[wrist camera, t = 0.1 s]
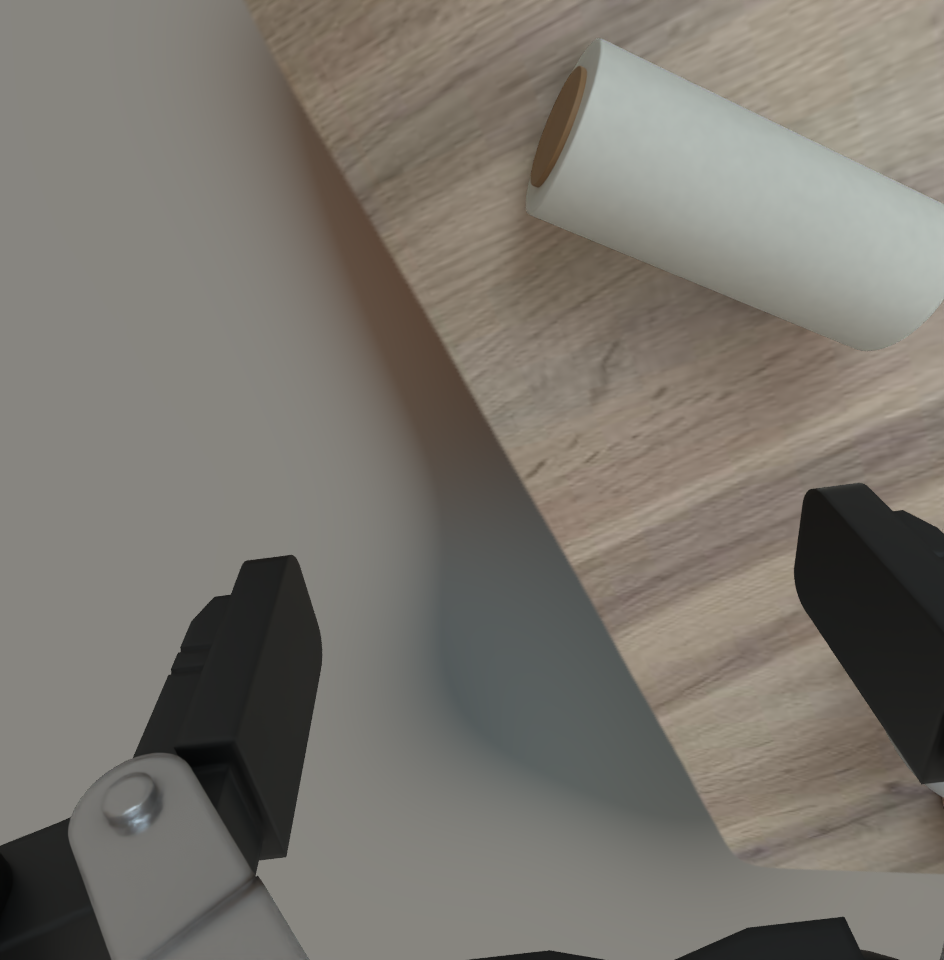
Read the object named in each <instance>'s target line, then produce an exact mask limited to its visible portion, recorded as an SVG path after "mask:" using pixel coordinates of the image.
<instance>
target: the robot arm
mask: <svg viewBox="0 0 944 960" xmlns="http://www.w3.org/2000/svg"><path fill="white" fill-rule="evenodd" d="M794 579H795V586H796V590H797V594H798V597H799V599H800V602H801V604H802V606H803V608H804V609H805V611H806V612H807V614H808V615H809V617H810V618H811V620H812V621H813V623H814V624H815V626H816V627H817V629H818V630H819V632H820V633H821V635H822V636H823V638H824V639H825V641H826V642H827V644H828V645H829V647H830V648H831V650H832V651H833V653H834V654H835V656H836V657H837V659H838V660H839V662H840V663H841V665H842V666H843V668H844V669H845V671H846V672H847V674H848V675H849V677H850V678H851V680H852V681H853V683H854V684H855V686H856V687H857V689H858V690H859V692H860V693H861V695H862V696H863V698H864V699H865V701H866V702H867V704H868V705H869V707H870V708H871V710H872V711H873V713H874V714H875V716H876V717H877V719H878V720H879V722H880V723H881V725H882V726H883V728H884V729H885V731H886V732H887V734H888V735H889V737H890V738H891V739H892V741H893V742H894V744H895V745H896V747H897V748H898V750H899V751H900V753H901V754H902V756H903V757H904V759H905V760H906V762H907V763H908V765H909V766H910V768H911V769H912V771H913V772H914V774H915V775H916V777H917V778H918V780H919V781H920V783H921V784H929V783H938V782H944V533H942V532H941V531H940V530H939V529H938V528H937V527H935V526H933V525H931V524H929V523H927V522H925V521H923V520H921V519H919V518H917V517H915V516H913V515H911V514H910V513H908V512H906V511H904V510H900V511H892V510H891V509H890V508H889V507H888V506H887V505H886V504H885V503H884V502H883V501H882V500H881V499H880V498H879V497H878V496H877V495H876V494H875V493H874V492H873V491H872V490H871V489H870V488H869V487H868V486H866V485H865V484H863V483H854V484H847V485H839V486H831V487H824V488H816V489H810V490H808V492H807V493H806V495H805V497H804V500H803V505H802V513H801V520H800V528H799V535H798V543H797V551H796V558H795V566H794ZM321 643H322V642H321V636H320V630H319V626H318V623H317V619H316V616H315V613H314V610H313V607H312V604H311V600H310V597H309V594H308V591H307V587H306V584H305V581H304V578H303V575H302V572H301V568H300V565H299V563H298V561H297V559H296V557H294V556H293V555H287V556H280V557H273V558H264V559H256V560H249V561H245V562H244V563H243V565H242V567H241V569H240V572H239V574H238V577H237V580H236V582H235V585H234V588H233V591H232V593H231V595H225V596H218V597H214V598H213V599H212V600H211V601H210V602H209V603H208V604H207V605H206V606H205V608H204V609H203V610H202V611H201V612H200V613H199V614H198V615H197V616H196V617H195V618H194V619H193V621H192V622H191V624H190V626H189V628H188V631H187V633H186V635H185V638H184V640H183V643H182V645H181V647H180V648H181V652H180V653H178V654H177V656H176V659H175V661H174V663H173V666H172V668H171V675H168V677H167V680H166V682H165V684H164V687H163V689H162V691H161V694H160V696H159V699H158V701H157V703H156V705H155V708H154V710H153V712H152V715H151V717H150V719H149V722H148V724H147V726H146V729H145V731H144V733H143V736H142V738H141V740H140V743H139V745H138V747H137V750H136V752H135V754H134V757H133V758H132V759H130V760H128V761H125V762H123V763H121V764H120V765H118V766H116V767H114V768H113V769H111V770H110V771H108V772H107V773H105V774H104V775H103V776H102V777H100V778H99V779H98V780H97V781H96V782H95V783H94V784H93V785H92V786H91V787H90V788H89V789H88V790H87V791H86V792H85V794H84V795H83V796H82V797H81V799H80V801H79V802H78V804H77V805H76V807H75V809H74V811H73V814H72V816H71V817H70V818H68V819H66V820H63V821H61V822H59V823H57V824H54V825H51V826H49V827H46V828H44V829H41V830H39V831H36V832H34V833H32V834H29V835H26V836H24V837H21V838H19V839H16V840H13V841H11V842H8V843H6V844H3V845H1V846H0V960H309V958H308V957H307V955H306V953H305V952H304V950H303V948H302V947H301V945H300V944H299V942H298V940H297V938H296V937H295V935H294V933H293V932H292V930H291V929H290V927H289V925H288V923H287V922H286V920H285V919H284V917H283V915H282V914H281V912H280V910H279V908H278V907H277V905H276V904H275V902H274V900H273V898H272V897H271V895H270V894H269V892H268V890H267V889H266V887H265V886H264V884H263V883H262V881H261V880H260V878H259V877H258V876H257V877H256V876H255V875H256V871H257V866H258V862H259V860H266V859H274V858H283V857H286V856H287V850H288V845H289V839H290V833H291V828H292V823H293V818H294V812H295V807H296V801H297V795H298V790H299V785H300V780H301V774H302V769H303V763H304V758H305V753H306V747H307V742H308V737H309V731H310V726H311V720H312V714H313V709H314V704H315V699H316V693H317V688H318V682H319V676H320V671H321V666H322V644H321ZM471 960H603V959H597V958H591V957H585V956H579V955H573V954H567V953H561V952H555V951H550V950H549V951H542V952H532V953H523V954H514V955H506V956H497V957H488V958H480V959H471ZM675 960H898V959H895V958H892V957H888V956H885V955H881V954H878V953H874V952H871V951H866V950H860V949H859V947H858V945H857V942H856V940H855V938H854V936H853V934H852V932H851V930H850V928H849V926H848V924H847V921H846V919H845V917H838V918H829V919H821V920H812V921H803V922H794V923H786V924H776V925H768V926H759V927H750V928H746V929H744V930H742V931H739V932H737V933H735V934H732V935H730V936H728V937H726V938H723V939H721V940H719V941H716V942H714V943H712V944H709V945H707V946H705V947H703V948H700V949H698V950H696V951H694V952H691V953H689V954H687V955H685V956H682V957H680V958H678V959H675ZM940 960H944V945H943V949H942V953H941V957H940Z"/></svg>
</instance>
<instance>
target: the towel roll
mask: <svg viewBox="0 0 944 960" xmlns="http://www.w3.org/2000/svg"><path fill="white" fill-rule="evenodd" d="M526 211H527V213H528V214H529V215H531V216H533V217H536V218H538V219H541V220H543V221H546V222H548V223H550V224H553V225H555V226H558V227H560V228H563V229H565V230H567V231H570V232H572V233H575V234H577V235H580V236H582V237H584V238H587V239H589V240H592V241H594V242H597V243H599V244H601V245H604V246H606V247H609V248H611V249H614V250H616V251H618V252H621V253H623V254H626V255H628V256H631V257H633V258H635V259H638V260H640V261H643V262H645V263H648V264H650V265H652V266H655V267H657V268H660V269H662V270H665V271H667V272H669V273H672V274H674V275H677V276H679V277H682V278H684V279H686V280H689V281H691V282H694V283H696V284H699V285H701V286H703V287H706V288H708V289H711V290H713V291H716V292H718V293H720V294H723V295H725V296H728V297H730V298H733V299H735V300H737V301H740V302H742V303H745V304H747V305H750V306H752V307H754V308H757V309H759V310H762V311H764V312H767V313H769V314H771V315H774V316H776V317H779V318H781V319H784V320H786V321H788V322H791V323H793V324H796V325H798V326H801V327H803V328H805V329H808V330H810V331H813V332H815V333H817V334H820V335H822V336H825V337H827V338H830V339H832V340H834V341H837V342H839V343H842V344H844V345H847V346H849V347H851V348H854V349H857V350H860V351H874V350H879V349H883V348H886V347H889V346H891V345H893V344H895V343H897V342H899V341H901V340H902V339H904V338H906V337H907V336H909V335H910V334H911V333H912V332H914V331H915V330H916V329H918V328H919V327H920V326H921V325H922V324H923V323H924V322H925V321H926V320H927V319H928V318H929V317H930V316H931V315H932V314H933V312H934V311H935V310H936V309H937V308H938V306H939V305H940V304H941V302H942V301H943V300H944V204H942V203H940V202H938V201H936V200H934V199H932V198H930V197H928V196H926V195H924V194H922V193H920V192H918V191H916V190H913V189H911V188H909V187H907V186H905V185H903V184H901V183H899V182H897V181H895V180H893V179H891V178H889V177H887V176H885V175H882V174H880V173H878V172H876V171H874V170H872V169H870V168H868V167H866V166H864V165H862V164H860V163H858V162H856V161H854V160H851V159H849V158H847V157H845V156H843V155H841V154H839V153H837V152H835V151H833V150H831V149H829V148H827V147H825V146H823V145H820V144H818V143H816V142H814V141H812V140H810V139H808V138H806V137H804V136H802V135H800V134H798V133H796V132H794V131H791V130H789V129H787V128H785V127H783V126H781V125H779V124H777V123H775V122H773V121H771V120H769V119H767V118H765V117H763V116H760V115H758V114H756V113H754V112H752V111H750V110H748V109H746V108H744V107H742V106H740V105H738V104H736V103H734V102H732V101H729V100H727V99H725V98H723V97H721V96H719V95H717V94H715V93H713V92H711V91H709V90H707V89H705V88H703V87H701V86H698V85H696V84H694V83H692V82H690V81H688V80H686V79H684V78H682V77H680V76H678V75H676V74H674V73H672V72H670V71H667V70H665V69H663V68H661V67H659V66H657V65H655V64H653V63H651V62H649V61H647V60H645V59H643V58H641V57H639V56H636V55H634V54H632V53H630V52H628V51H626V50H624V49H622V48H620V47H618V46H616V45H614V44H612V43H610V42H607V41H605V40H603V39H601V38H597V39H595V40H594V41H593V42H592V43H591V44H590V45H589V46H588V47H587V49H586V50H585V51H584V53H583V54H582V56H581V57H580V59H579V60H578V62H577V64H576V66H575V67H574V69H573V71H572V73H571V74H570V76H569V77H568V79H567V81H566V82H565V84H564V86H563V88H562V90H561V92H560V94H559V96H558V98H557V100H556V102H555V104H554V106H553V109H552V111H551V113H550V116H549V118H548V120H547V123H546V126H545V128H544V131H543V133H542V136H541V139H540V142H539V145H538V148H537V151H536V155H535V158H534V162H533V166H532V171H531V176H530V180H529V184H528V189H527V195H526Z"/></svg>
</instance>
